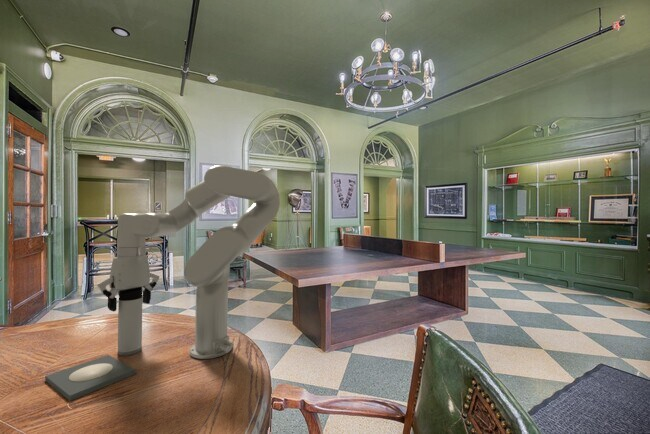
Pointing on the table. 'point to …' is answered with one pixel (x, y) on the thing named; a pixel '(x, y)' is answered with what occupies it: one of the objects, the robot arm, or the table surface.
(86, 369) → the mat
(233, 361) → the table surface
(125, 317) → the travel mug
